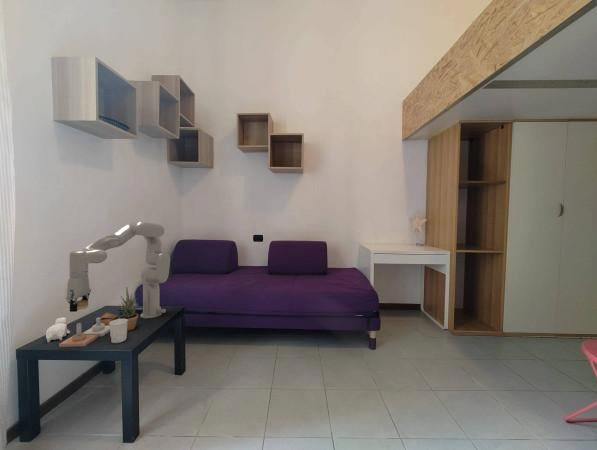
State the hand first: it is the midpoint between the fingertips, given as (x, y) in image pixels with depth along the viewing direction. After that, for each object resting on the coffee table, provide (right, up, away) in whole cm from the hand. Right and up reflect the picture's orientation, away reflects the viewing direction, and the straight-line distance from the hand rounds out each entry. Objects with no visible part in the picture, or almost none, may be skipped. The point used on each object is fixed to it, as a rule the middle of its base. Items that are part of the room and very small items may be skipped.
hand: (79, 308), depth 141 cm
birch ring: (0, 0, 0) cm, 0 cm away
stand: (+1, -17, +12) cm, 21 cm away
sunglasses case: (-6, -17, +28) cm, 33 cm away
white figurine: (-16, -17, +6) cm, 25 cm away
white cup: (+19, -17, +2) cm, 26 cm away
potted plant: (+15, -17, +17) cm, 28 cm away
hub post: (0, -17, 0) cm, 17 cm away
